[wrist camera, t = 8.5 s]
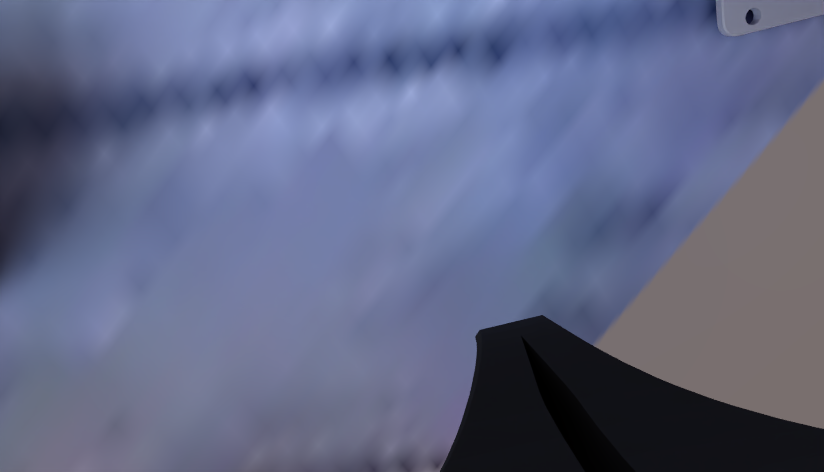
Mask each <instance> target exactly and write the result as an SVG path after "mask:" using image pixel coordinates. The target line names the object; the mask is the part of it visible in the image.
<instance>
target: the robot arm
mask: <svg viewBox="0 0 824 472" xmlns="http://www.w3.org/2000/svg"><path fill="white" fill-rule="evenodd" d="M749 10H751V11H753V14H754V17H753V20H752V22H751V23H750V24H748V23H747V22H746V19H745V17H746V13H747V12H748V11H749ZM716 12H717V25H718V29H719V31H720V32H721V33H722V35H725V36H727V37H729V36H740V35H744V34H748V33H752V32H756V31H760V30H764V29H768V28H772V27H776V26H780V25H784V24H788V23H792V22H796V21H800V20H804V19H808V18H812V17H816V16H820V15H824V0H716ZM475 338H476V342H477V357H476V366H475V372H474V377H473V382H472V387H471V391H470V395H469V399H468V402H467V405H466V409H465V412H464V415H463V418H462V422H461V425H460V427H459V430H458V433H457V435H456V438H455V440H454V443H453V445H452V447H451V449H450V452H449V454H448V456H447V458H446V461H445V463H444V465H443V467H442V468H441V470H440V472H824V429H821V428H816V427H812V426H808V425H803V424H799V423H795V422H791V421H787V420H783V419H778V418H775V417H771V416H768V415H764V414H761V413H757V412H754V411H750V410H747V409H743V408H739V407H736V406H733V405H730V404H726V403H723V402H720V401H717V400H714V399H711V398H708V397H705V396H703V395H700V394H697V393H695V392H692V391H689V390H686V389H684V388H681V387H678V386H675V385H673V384H671V383H668V382H666V381H663V380H661V379H659V378H656V377H654V376H652V375H650V374H648V373H646V372H643V371H641V370H639V369H637V368H635V367H633V366H631V365H628V364H626V363H624V362H622V361H620V360H618V359H617V358H615V357H612V356H611V355H609V354H607V353H605V352H603V351H601V350H599V349H598V348H596V347H594V346H593V345H591V344H589V343H587V342H586V341H584V340H582V339H580V338H579V337H577V336H575V335H574V334H572V333H571V332H569V331H567V330H566V329H564V328H562V327H561V326H559V325H558V324H556V323H554V322H553V321H551V320H550V319H548V318H546V317H545V316H543V315H541V316H536V317H532V318H528V319H524V320H520V321H515V322H511V323H507V324H503V325H499V326H495V327H490V328H486V329H482V330H480V331H479V332H478V333H477V335H476V336H475Z"/></svg>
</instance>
